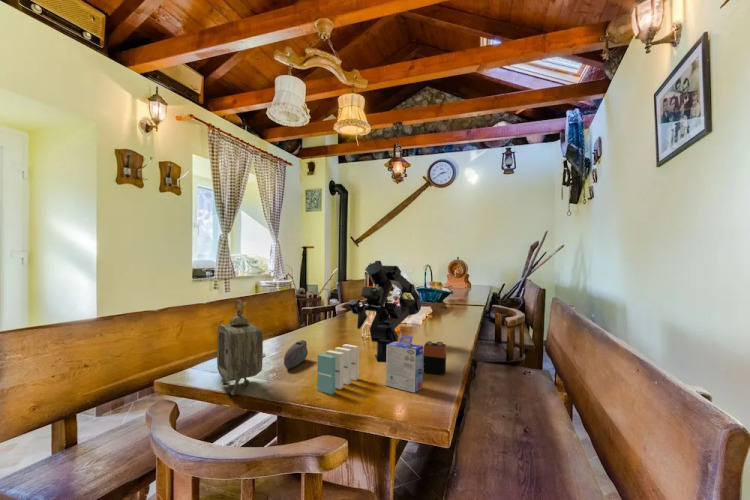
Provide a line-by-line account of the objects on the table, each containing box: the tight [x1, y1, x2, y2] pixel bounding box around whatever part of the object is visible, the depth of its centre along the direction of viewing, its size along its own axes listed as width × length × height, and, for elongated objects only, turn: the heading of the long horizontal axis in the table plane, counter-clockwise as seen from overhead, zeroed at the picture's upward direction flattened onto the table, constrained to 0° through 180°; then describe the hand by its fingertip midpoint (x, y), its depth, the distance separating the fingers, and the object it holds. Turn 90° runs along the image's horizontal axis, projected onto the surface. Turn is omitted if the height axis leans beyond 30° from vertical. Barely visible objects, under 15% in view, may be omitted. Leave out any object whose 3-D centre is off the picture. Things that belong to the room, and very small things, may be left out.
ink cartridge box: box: [385, 334, 424, 394], centre depth 97 cm, size 10×6×14 cm, turn 58°
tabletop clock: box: [216, 299, 264, 396], centre depth 95 cm, size 14×9×25 cm, turn 37°
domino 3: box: [334, 346, 352, 386], centre depth 100 cm, size 2×5×10 cm, turn 60°
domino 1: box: [316, 353, 336, 395], centre depth 93 cm, size 2×5×10 cm, turn 60°
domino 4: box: [341, 343, 360, 381], centre depth 103 cm, size 2×5×10 cm, turn 60°
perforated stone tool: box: [283, 339, 309, 370], centre depth 115 cm, size 15×5×7 cm, turn 168°
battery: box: [423, 340, 447, 376], centre depth 109 cm, size 4×7×10 cm, turn 72°
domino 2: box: [325, 349, 344, 390], centre depth 96 cm, size 2×5×10 cm, turn 60°
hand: (364, 329), depth 110 cm, fingers open, 5 cm apart
